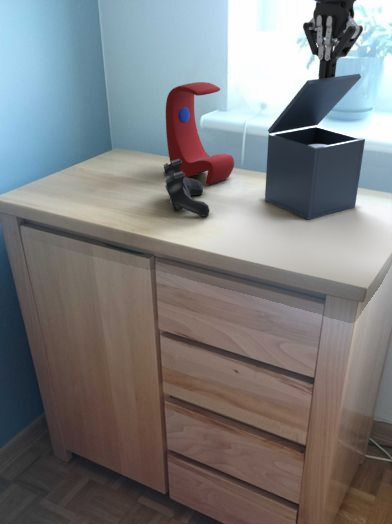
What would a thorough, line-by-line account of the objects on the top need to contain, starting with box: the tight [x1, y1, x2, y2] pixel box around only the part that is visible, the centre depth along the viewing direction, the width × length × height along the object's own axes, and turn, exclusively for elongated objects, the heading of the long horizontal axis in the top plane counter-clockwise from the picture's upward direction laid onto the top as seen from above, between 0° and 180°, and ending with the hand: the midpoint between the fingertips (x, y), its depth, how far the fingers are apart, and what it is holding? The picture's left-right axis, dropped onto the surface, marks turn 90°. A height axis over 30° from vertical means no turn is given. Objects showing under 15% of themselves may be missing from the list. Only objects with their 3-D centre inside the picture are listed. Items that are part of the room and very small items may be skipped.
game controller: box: [163, 159, 211, 217], centre depth 114 cm, size 16×7×10 cm, turn 5°
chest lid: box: [267, 73, 362, 135], centre depth 106 cm, size 14×13×1 cm
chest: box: [264, 125, 366, 220], centre depth 112 cm, size 14×13×13 cm
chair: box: [165, 81, 235, 186], centre depth 126 cm, size 15×7×20 cm, turn 47°
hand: (326, 83), depth 102 cm, fingers closed
